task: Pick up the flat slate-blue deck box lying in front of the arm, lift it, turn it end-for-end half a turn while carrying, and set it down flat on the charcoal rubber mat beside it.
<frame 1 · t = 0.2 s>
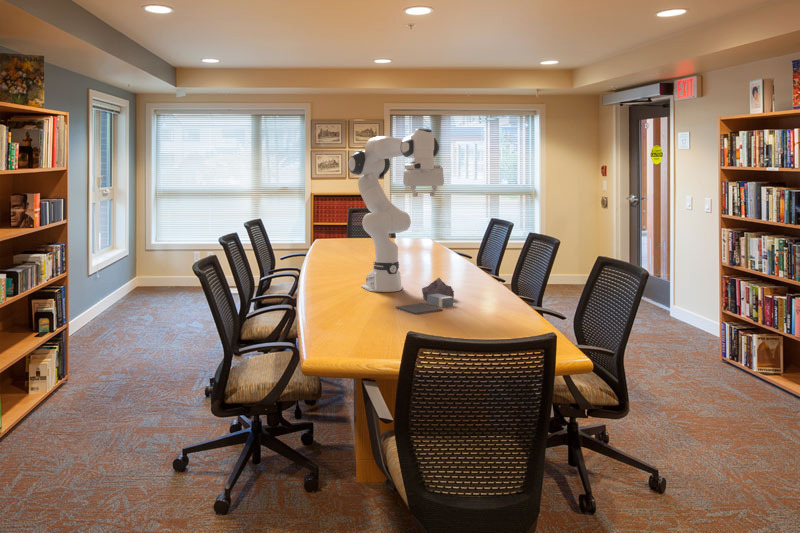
hand: (423, 196, 307), 47 cm above the table, tool pointing down, fingers open, 8 cm apart
stone: (437, 300, 314), on the table
deck: (440, 304, 303), on the table
mat: (418, 309, 292), on the table
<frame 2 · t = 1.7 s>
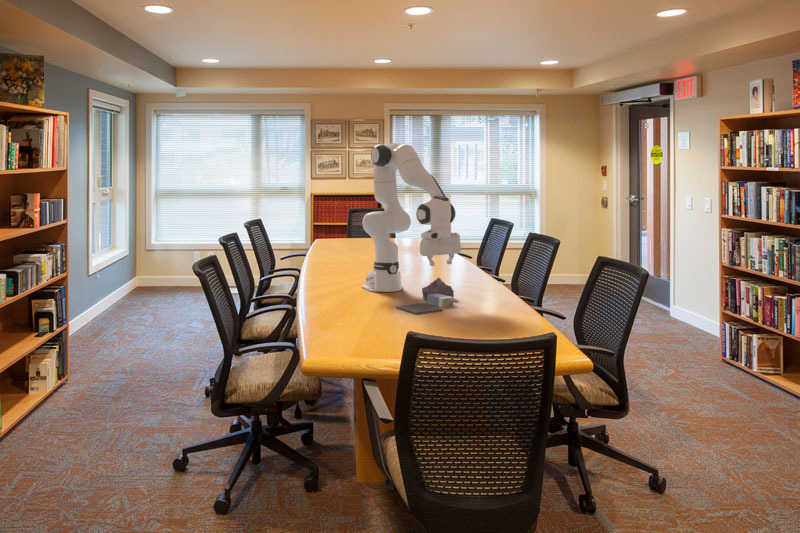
hand: (440, 264, 300), 18 cm above the table, tool pointing down, fingers open, 8 cm apart
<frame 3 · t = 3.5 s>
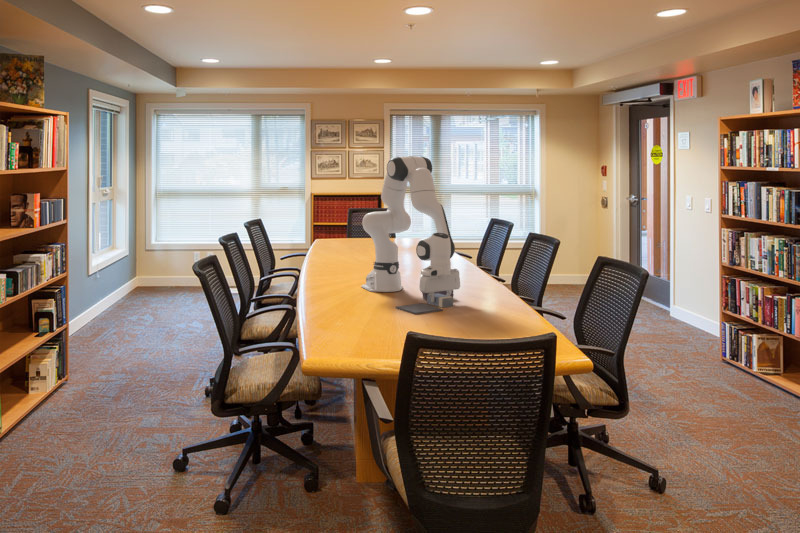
hand: (440, 301, 302), 2 cm above the table, tool pointing down, fingers closed on deck, 6 cm apart
deck: (440, 304, 303), on the table, touching gripper
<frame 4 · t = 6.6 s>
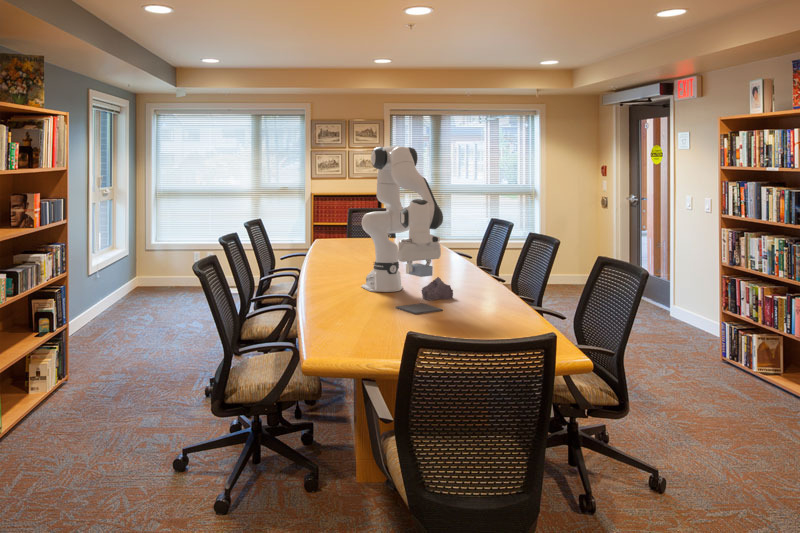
hand: (419, 270, 290), 17 cm above the table, tool pointing down, fingers closed on deck, 6 cm apart
deck: (419, 274, 290), point 15 cm above the table, touching gripper
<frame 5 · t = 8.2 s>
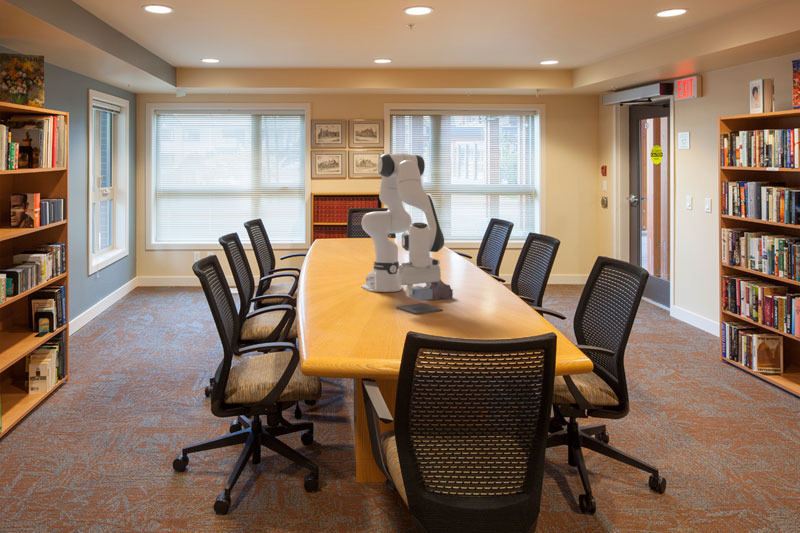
hand: (419, 293, 291), 7 cm above the table, tool pointing down, fingers closed on deck, 6 cm apart
deck: (419, 297, 291), point 5 cm above the table, touching gripper
when the fingers open (4 cm above the table, at t = 9.4 s): deck drops 1 cm, resting on mat.
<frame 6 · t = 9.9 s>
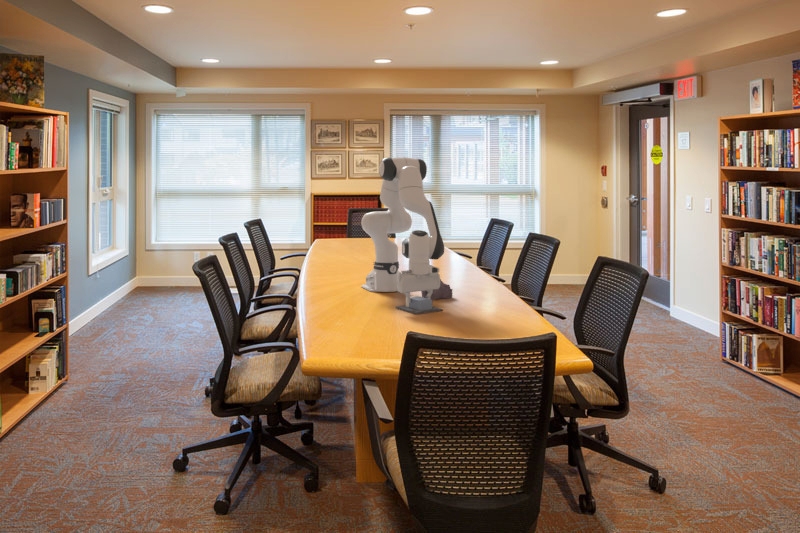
hand: (418, 301, 292), 4 cm above the table, tool pointing down, fingers open, 8 cm apart
deck: (418, 307, 292), point 1 cm above the table, touching mat
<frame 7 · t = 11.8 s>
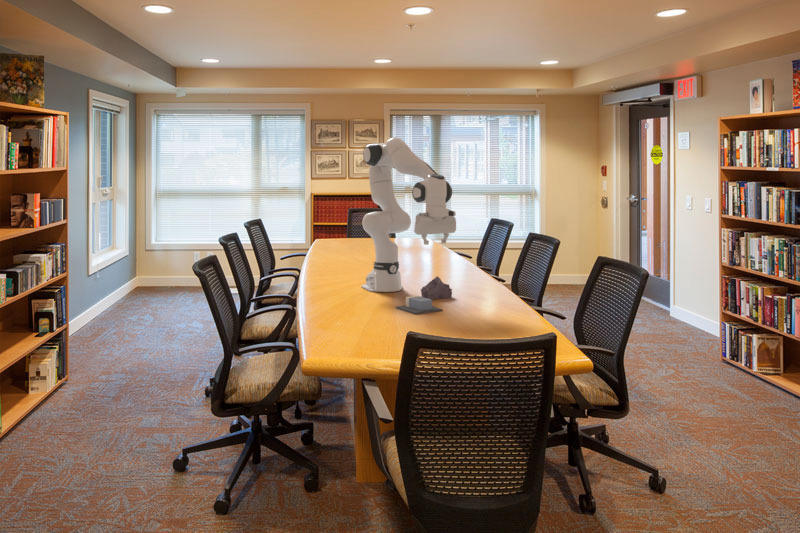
hand: (434, 243, 298), 27 cm above the table, tool pointing down, fingers open, 8 cm apart
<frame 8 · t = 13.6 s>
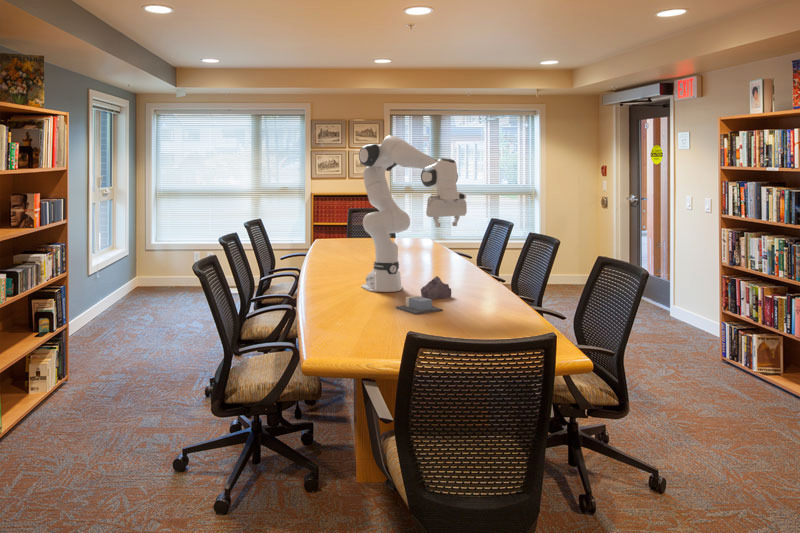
hand: (446, 226, 304), 34 cm above the table, tool pointing down, fingers open, 8 cm apart
at the end: deck inside the target area on the mat (0.1 cm from its centre), point 0.8 cm above the mat's base; deck tilted 0°; the gripper is holding nothing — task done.
